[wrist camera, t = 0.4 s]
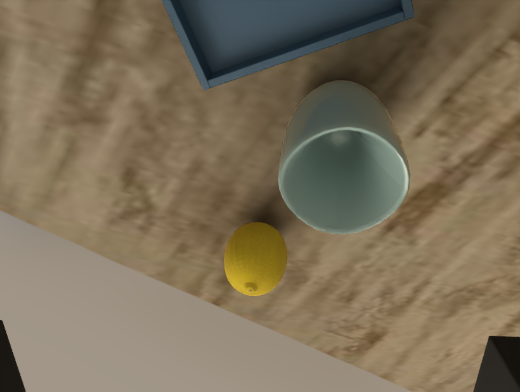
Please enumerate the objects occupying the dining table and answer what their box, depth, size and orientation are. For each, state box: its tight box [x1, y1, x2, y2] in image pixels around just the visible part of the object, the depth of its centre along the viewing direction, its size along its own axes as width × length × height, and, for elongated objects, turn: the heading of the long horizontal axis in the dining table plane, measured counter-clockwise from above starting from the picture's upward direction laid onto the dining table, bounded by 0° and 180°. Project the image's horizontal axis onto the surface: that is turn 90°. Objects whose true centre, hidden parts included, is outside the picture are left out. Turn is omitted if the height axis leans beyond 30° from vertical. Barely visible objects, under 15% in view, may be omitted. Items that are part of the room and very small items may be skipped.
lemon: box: [224, 222, 287, 296], centre depth 38 cm, size 6×6×8 cm
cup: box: [278, 80, 410, 234], centre depth 30 cm, size 8×8×10 cm
